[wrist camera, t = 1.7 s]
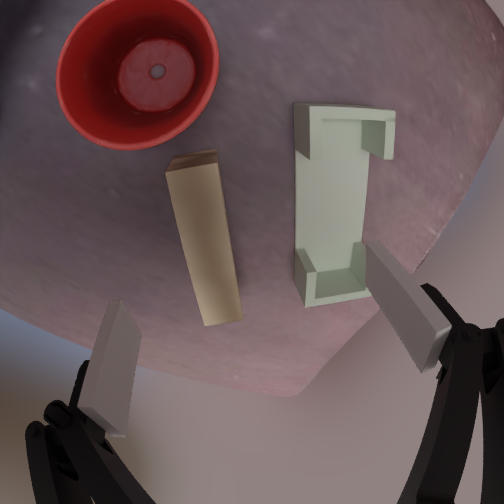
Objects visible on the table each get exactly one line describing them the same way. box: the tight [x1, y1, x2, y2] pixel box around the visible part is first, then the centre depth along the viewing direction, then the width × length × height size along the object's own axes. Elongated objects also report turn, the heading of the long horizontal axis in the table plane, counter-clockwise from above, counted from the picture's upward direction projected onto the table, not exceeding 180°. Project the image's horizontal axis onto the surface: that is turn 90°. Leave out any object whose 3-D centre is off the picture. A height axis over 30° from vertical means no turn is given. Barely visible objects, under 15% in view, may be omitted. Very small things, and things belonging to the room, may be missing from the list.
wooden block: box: [165, 149, 243, 326], centre depth 28 cm, size 4×16×6 cm, turn 7°
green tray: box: [293, 103, 395, 307], centre depth 28 cm, size 8×20×5 cm, turn 4°
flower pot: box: [56, 0, 220, 150], centre depth 18 cm, size 11×11×10 cm
